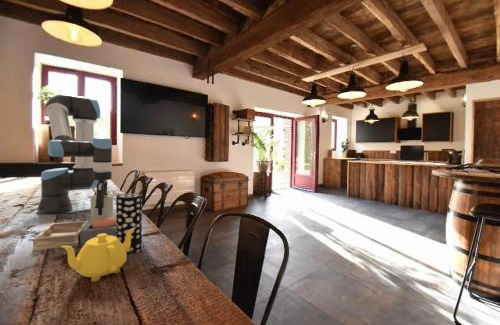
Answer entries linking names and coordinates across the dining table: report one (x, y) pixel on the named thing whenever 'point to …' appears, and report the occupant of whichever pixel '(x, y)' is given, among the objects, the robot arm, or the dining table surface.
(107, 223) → the pad
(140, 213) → the spotted tube
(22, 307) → the dining table surface
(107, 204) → the can
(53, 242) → the wooden tray
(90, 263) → the teapot
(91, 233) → the grey square tray
